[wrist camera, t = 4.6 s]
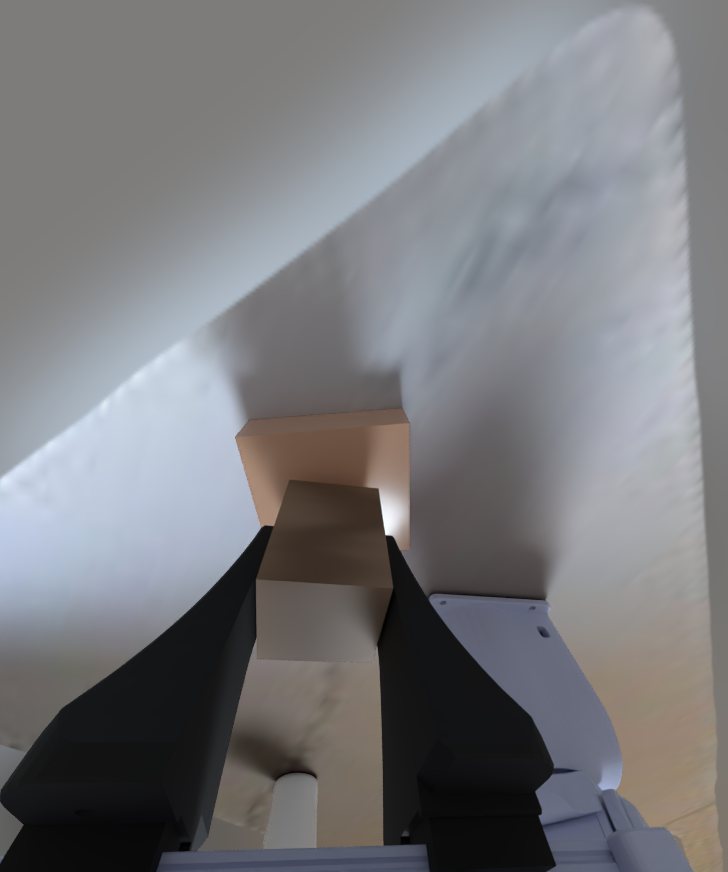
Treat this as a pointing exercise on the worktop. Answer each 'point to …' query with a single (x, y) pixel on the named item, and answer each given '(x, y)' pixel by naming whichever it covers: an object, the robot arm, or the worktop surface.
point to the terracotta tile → (331, 460)
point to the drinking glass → (293, 813)
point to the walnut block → (324, 576)
